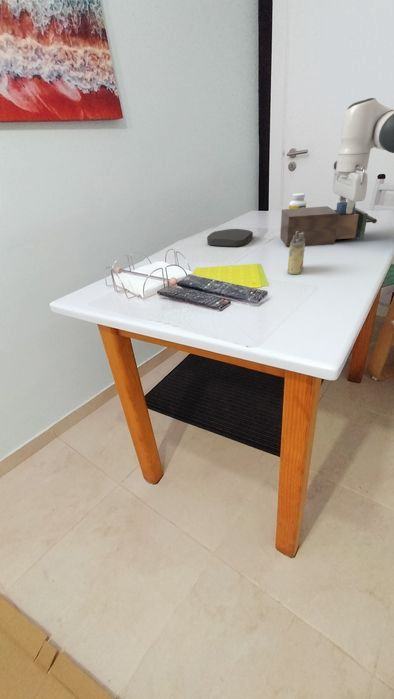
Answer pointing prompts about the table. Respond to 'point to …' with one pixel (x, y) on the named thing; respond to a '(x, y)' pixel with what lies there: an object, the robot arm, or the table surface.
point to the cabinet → (310, 225)
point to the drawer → (353, 225)
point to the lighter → (296, 253)
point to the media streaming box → (230, 237)
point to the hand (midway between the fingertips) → (345, 211)
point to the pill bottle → (297, 201)
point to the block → (343, 208)
